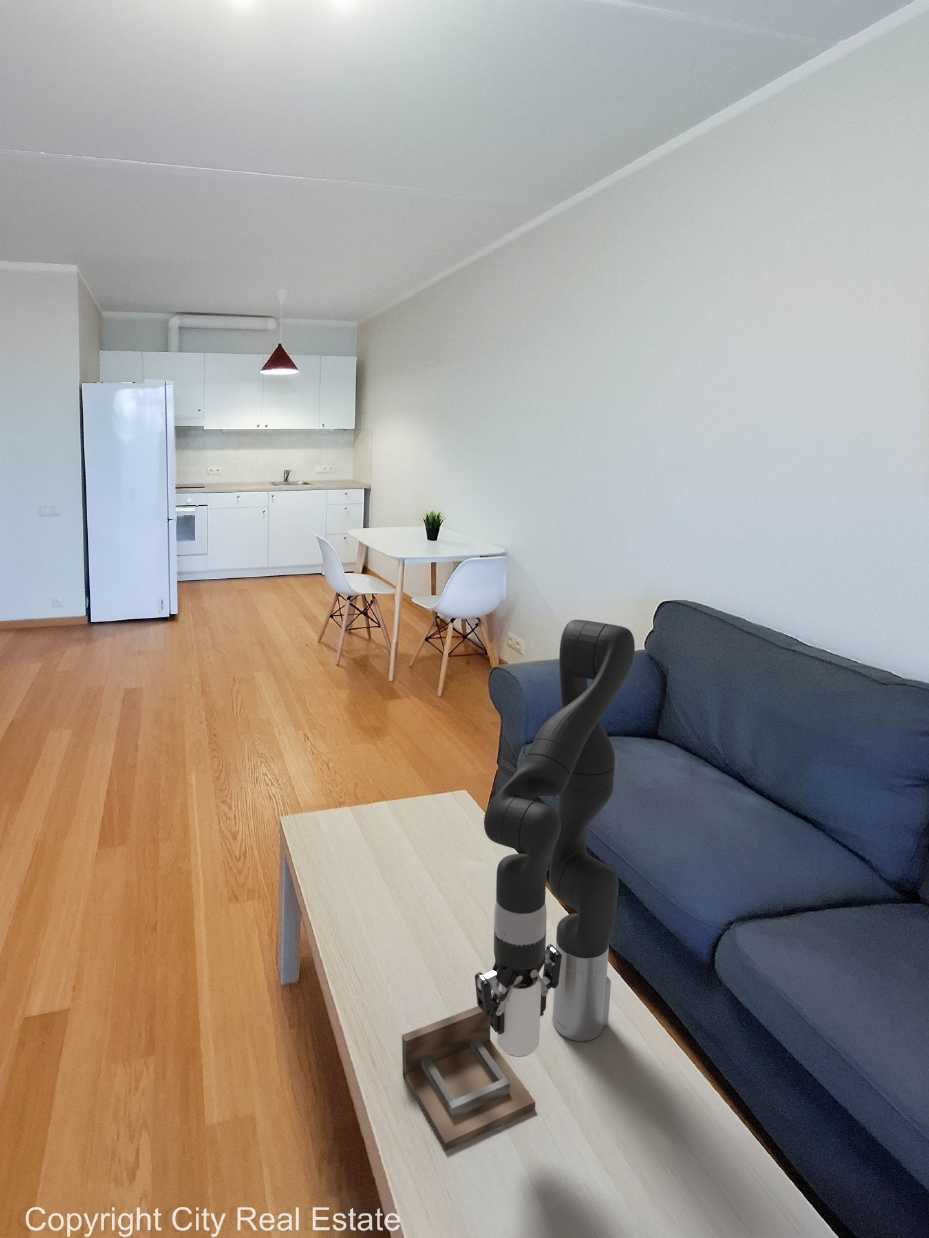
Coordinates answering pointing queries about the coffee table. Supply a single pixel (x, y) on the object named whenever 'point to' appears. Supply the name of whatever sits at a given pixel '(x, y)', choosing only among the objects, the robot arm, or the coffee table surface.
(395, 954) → the coffee table surface
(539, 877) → the robot arm
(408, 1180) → the coffee table surface
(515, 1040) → the can
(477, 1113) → the wall board
